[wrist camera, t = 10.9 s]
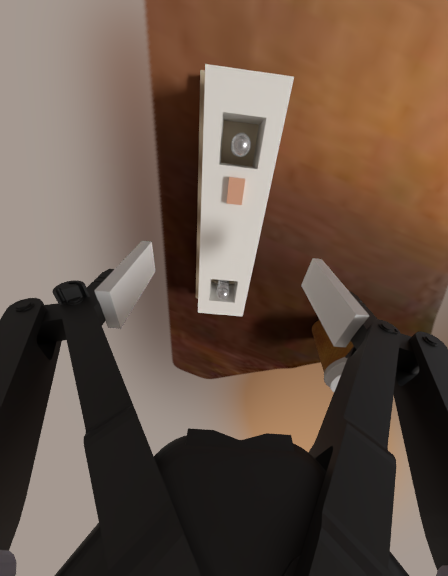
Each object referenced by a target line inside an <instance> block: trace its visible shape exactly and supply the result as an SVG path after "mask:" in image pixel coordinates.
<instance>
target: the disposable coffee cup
mask: <svg viewBox="0 0 448 576" xmlns="http://www.w3.org/2000/svg"><path fill="white" fill-rule="evenodd" d="M312 333H313V336H314V340H315V343H316V347H317V350H318V353H319V357H320V360H321V364H322V367H323V370H324V381H325V383H326V385H328V386H329V387H330V388H331V390H332V391H333V392H335V389H336V387H337V384H338V382H339V379H340V376H341V374H342V371H343V369H344V366H345V364H346V361H347V358H345V357H346V355H347V354H348V353H349V352H350V350H351V349H352V348H353V346H354V345H353V344H352V342H351V341H350V342H349V344H348V345H347V346H346V347H335V346H333V344H332V342H331V340H330V338H329V336H328V335H327V333H326V331H325V329H324V327H323V325H322V323H321V321H320V320H318V321H316V322H315V323H314V324H313V326H312Z"/></svg>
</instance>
